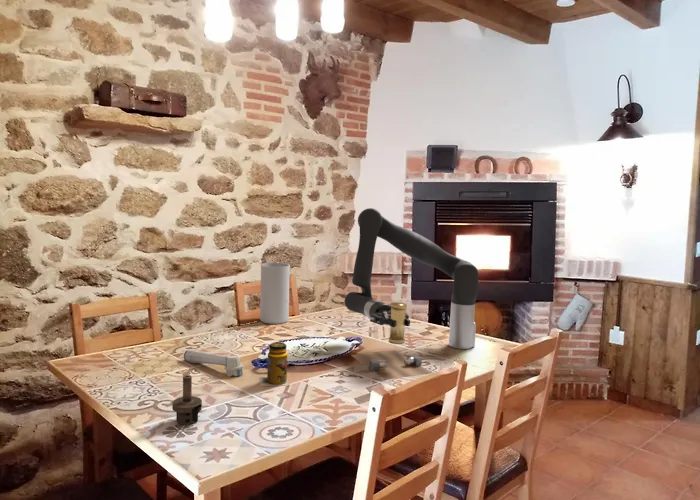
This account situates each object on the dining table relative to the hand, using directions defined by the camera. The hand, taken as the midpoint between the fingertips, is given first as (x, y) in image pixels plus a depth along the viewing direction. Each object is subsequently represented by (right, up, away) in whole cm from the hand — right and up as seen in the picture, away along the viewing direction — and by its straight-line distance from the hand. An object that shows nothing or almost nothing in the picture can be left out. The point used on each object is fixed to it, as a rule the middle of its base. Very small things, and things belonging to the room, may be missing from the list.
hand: (401, 323), depth 185 cm
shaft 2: (+4, -15, +7) cm, 17 cm away
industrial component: (-58, -20, -42) cm, 74 cm away
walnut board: (-3, -15, +8) cm, 18 cm away
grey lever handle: (-62, -15, -1) cm, 64 cm away
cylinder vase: (-51, -7, +63) cm, 81 cm away
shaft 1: (-8, -15, +2) cm, 17 cm away
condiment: (-41, -17, -11) cm, 45 cm away
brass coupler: (-1, -6, +3) cm, 7 cm away
